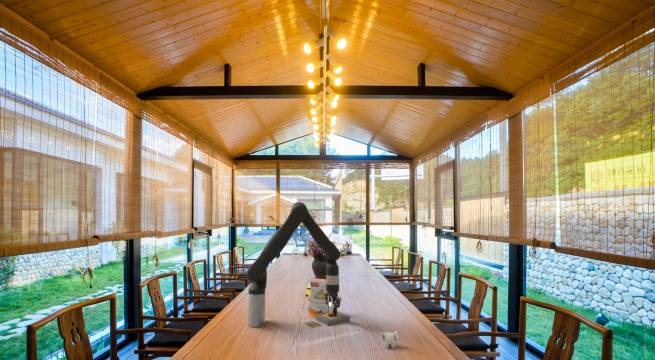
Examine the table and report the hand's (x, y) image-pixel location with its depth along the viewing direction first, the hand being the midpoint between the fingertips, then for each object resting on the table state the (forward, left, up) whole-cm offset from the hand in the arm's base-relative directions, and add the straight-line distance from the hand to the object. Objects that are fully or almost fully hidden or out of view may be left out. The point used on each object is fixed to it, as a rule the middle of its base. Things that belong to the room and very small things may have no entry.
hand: (332, 313), depth 209 cm
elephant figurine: (+43, +3, -5) cm, 43 cm away
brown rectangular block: (0, -13, -5) cm, 14 cm away
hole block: (0, 0, -5) cm, 5 cm away
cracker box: (-17, +4, -5) cm, 18 cm away
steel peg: (0, 0, -2) cm, 2 cm away
